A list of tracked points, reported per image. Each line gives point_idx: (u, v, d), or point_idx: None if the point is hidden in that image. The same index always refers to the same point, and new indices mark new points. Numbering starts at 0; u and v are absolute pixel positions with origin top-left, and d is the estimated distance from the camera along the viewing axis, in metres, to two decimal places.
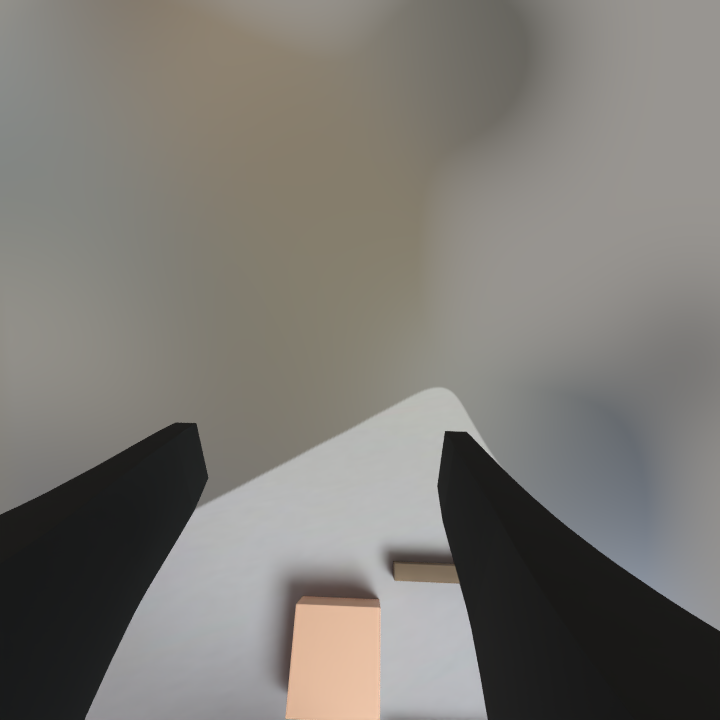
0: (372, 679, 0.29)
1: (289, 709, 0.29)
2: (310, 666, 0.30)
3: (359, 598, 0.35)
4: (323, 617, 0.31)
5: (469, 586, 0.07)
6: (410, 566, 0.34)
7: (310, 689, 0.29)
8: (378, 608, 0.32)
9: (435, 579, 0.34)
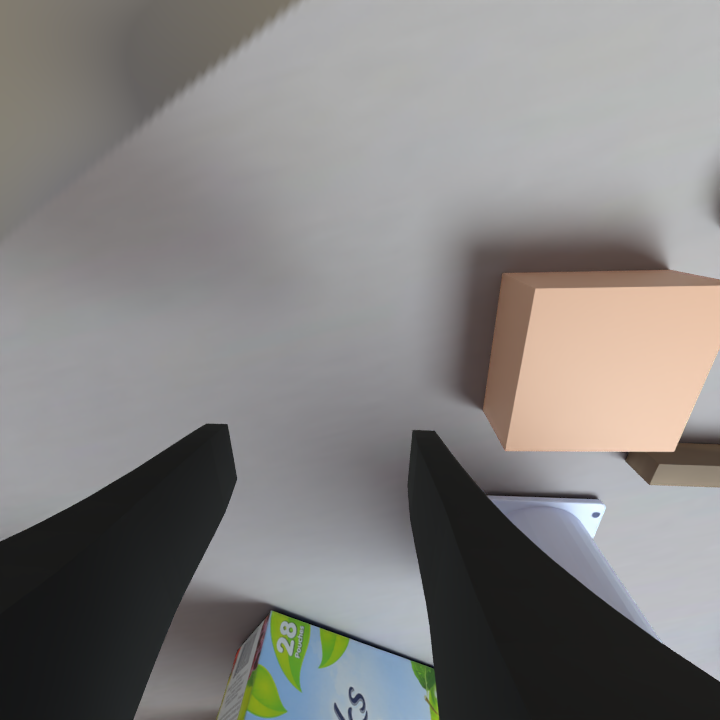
0: (681, 401, 0.15)
1: (512, 441, 0.16)
2: (557, 388, 0.15)
3: None
4: (598, 310, 0.14)
5: (428, 584, 0.07)
6: None
7: (554, 417, 0.16)
8: None
9: None
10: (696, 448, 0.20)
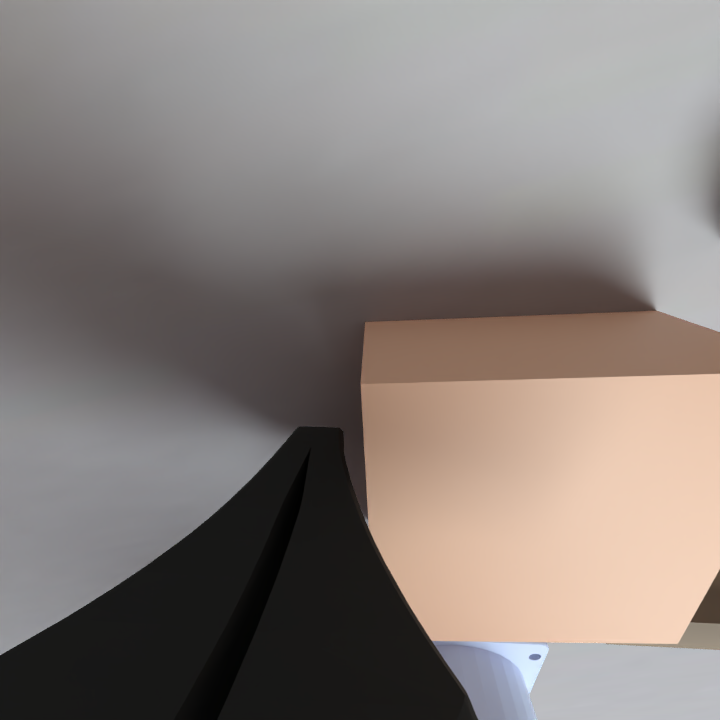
0: (688, 573, 0.08)
1: None
2: (447, 553, 0.08)
3: (581, 314, 0.09)
4: (502, 423, 0.06)
5: None
6: None
7: (452, 596, 0.08)
8: None
9: None
10: None
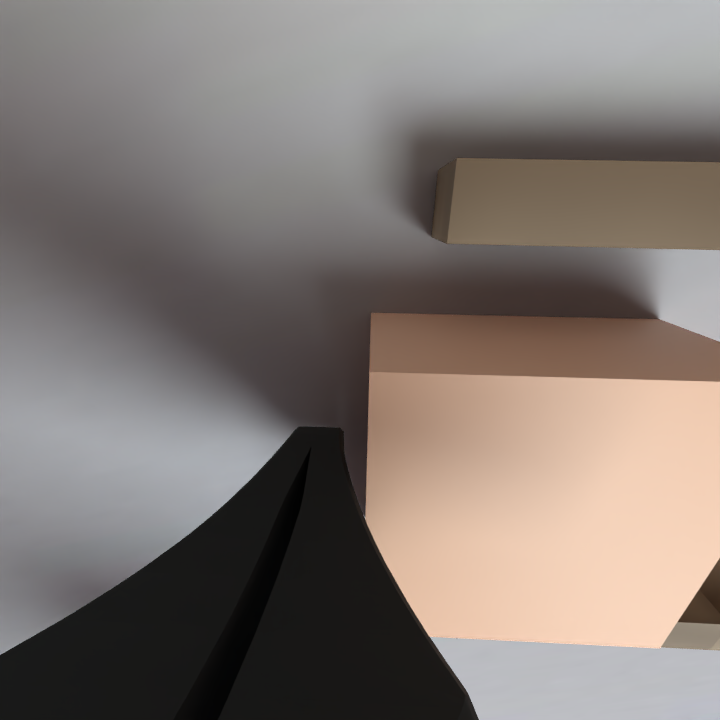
0: (676, 579, 0.08)
1: None
2: (442, 548, 0.08)
3: (587, 319, 0.09)
4: (508, 420, 0.06)
5: None
6: (542, 172, 0.06)
7: (443, 592, 0.08)
8: None
9: (658, 234, 0.07)
10: None
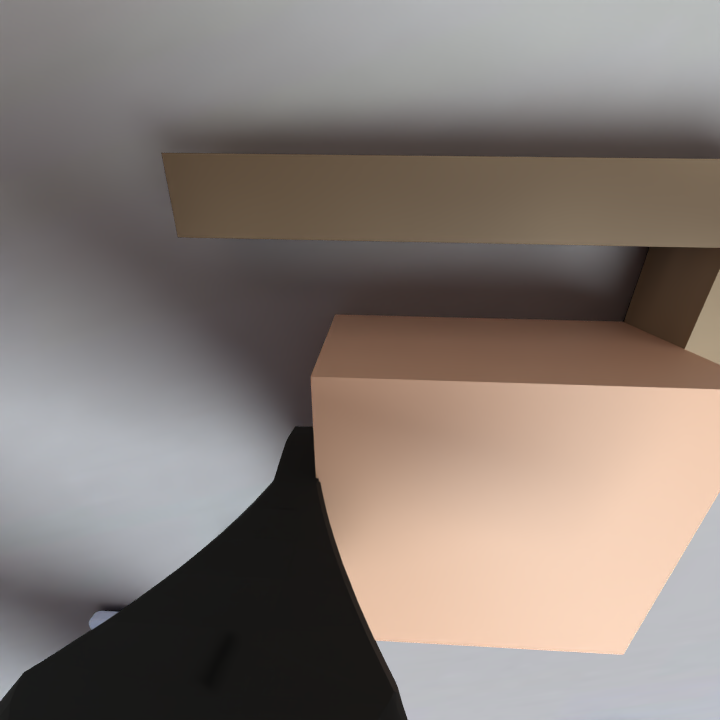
0: (634, 585, 0.08)
1: None
2: (397, 554, 0.08)
3: (551, 322, 0.09)
4: (453, 426, 0.06)
5: None
6: (247, 166, 0.06)
7: (401, 597, 0.08)
8: None
9: (377, 227, 0.07)
10: None
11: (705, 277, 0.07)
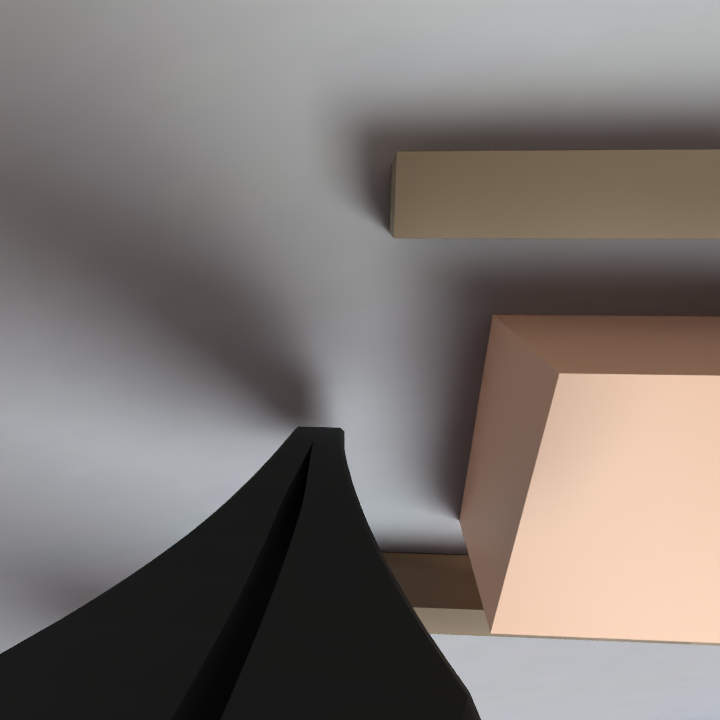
0: None
1: (503, 620, 0.09)
2: (592, 548, 0.08)
3: (712, 316, 0.09)
4: (691, 420, 0.06)
5: None
6: (484, 164, 0.06)
7: (582, 591, 0.08)
8: None
9: (605, 224, 0.07)
10: (465, 567, 0.13)
11: None
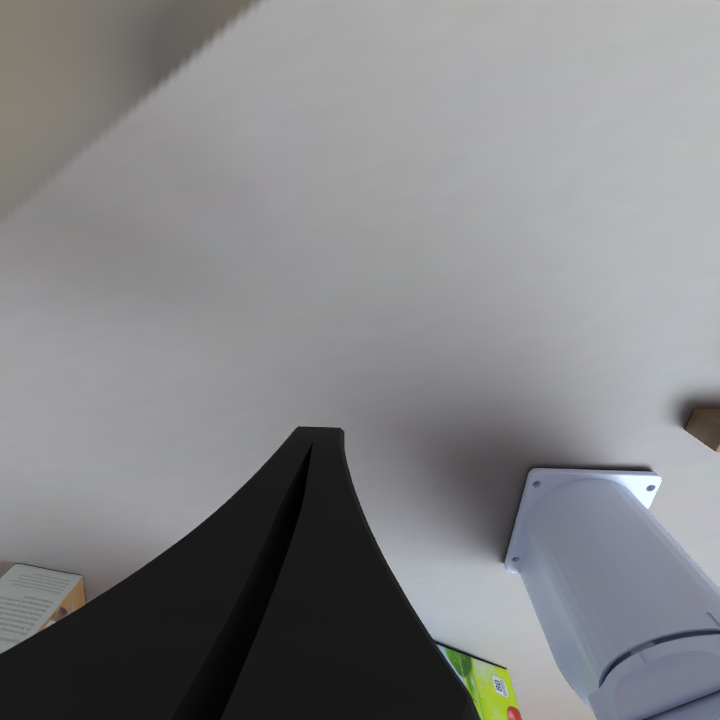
0: None
1: None
2: None
3: None
4: None
5: None
6: None
7: None
8: None
9: None
10: None
11: None
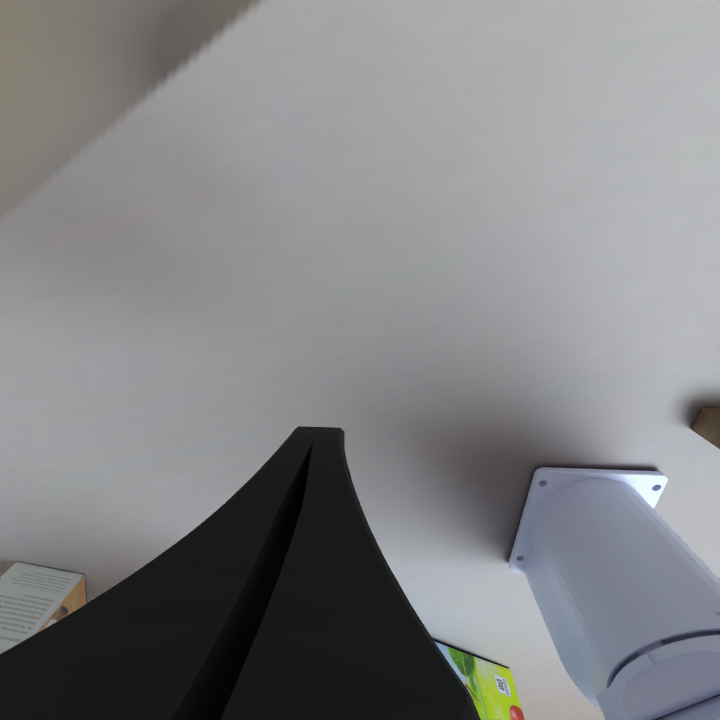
0: None
1: None
2: None
3: None
4: None
5: None
6: None
7: None
8: None
9: None
10: None
11: None
